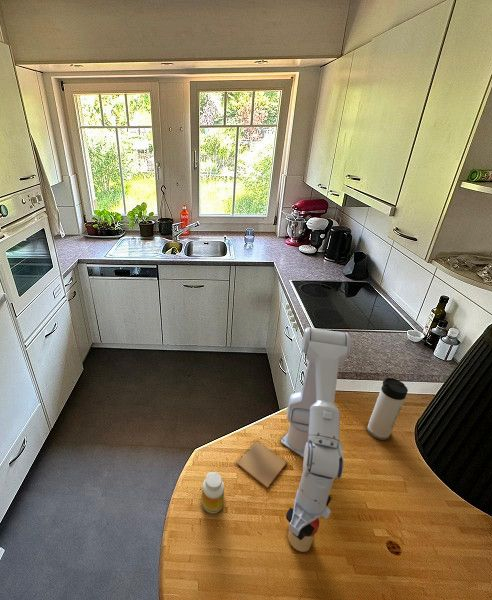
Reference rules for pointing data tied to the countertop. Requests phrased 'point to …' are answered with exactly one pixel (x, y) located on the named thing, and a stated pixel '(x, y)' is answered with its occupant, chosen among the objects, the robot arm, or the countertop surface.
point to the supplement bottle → (213, 492)
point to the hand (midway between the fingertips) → (303, 524)
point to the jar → (300, 542)
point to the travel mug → (387, 408)
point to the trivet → (262, 464)
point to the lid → (315, 525)
